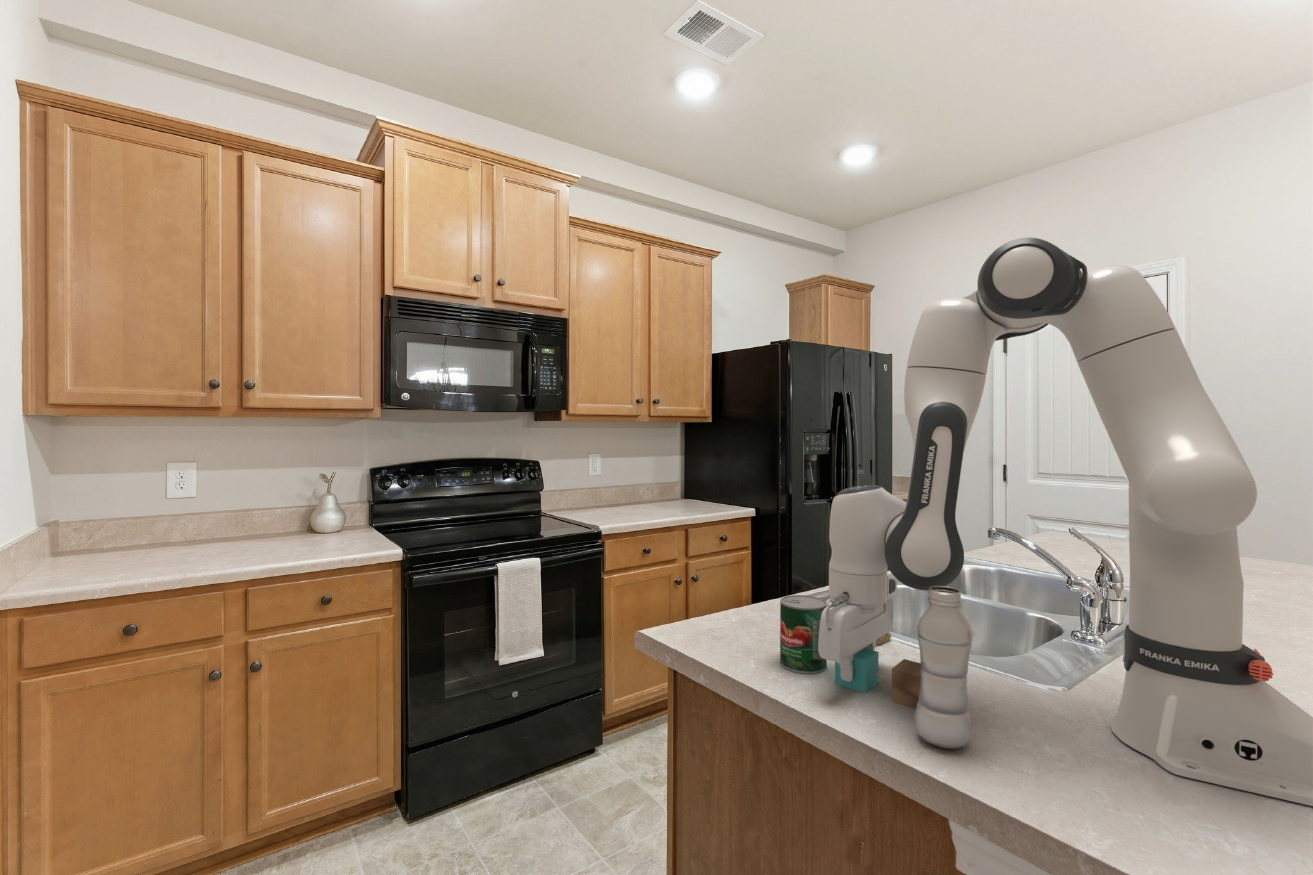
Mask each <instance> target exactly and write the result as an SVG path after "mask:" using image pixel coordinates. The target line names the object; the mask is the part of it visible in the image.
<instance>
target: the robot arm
mask: <svg viewBox="0 0 1313 875" xmlns="http://www.w3.org/2000/svg"><path fill="white" fill-rule="evenodd" d="M1049 325H1050V326H1053V327H1054V328H1056V329H1058V330H1059V331H1060V332H1061V333H1062V334H1063V336H1065V337H1064V338H1065V339H1066V340H1067V341H1068V343H1069V345H1070V347H1071V349H1072V353H1073V355H1074V358H1075V361H1076V362H1077V366H1078V368H1079V370H1080V373H1081V375H1082V377H1083V379H1084V381H1085V384H1086V386H1087V389H1088V391H1089V393H1090V396H1091V399H1092V402H1094V405H1095V408H1096V410H1097V413H1098V415H1099V418H1100V419H1101V422H1102V424H1103V426H1104V428H1105V431H1106V433H1107V434H1108V438H1109V440H1110V442H1111V444H1112V446H1113V449H1114V451H1115V452H1116V455H1117V458H1118V460H1119V461H1120V465H1121V466H1122V469H1123V471H1124V473H1125V476H1126V478H1127V481H1128V538H1129V539H1128V542H1129V544H1128V546H1129V548H1128V549H1129V592H1128V593H1129V596H1128V597H1129V598H1128V599H1129V600H1128V624H1127V625H1126V626H1125V628H1124V633H1123V636H1122V662H1123V667H1124V669H1125V675H1124V682H1123V686H1122V693H1121V696H1120V701H1119V705H1118V707H1117V711H1116V713H1115V715H1114V719H1113V721H1112V722H1111V725H1110V726H1111V730H1112V732H1113V733H1114V735H1115V736H1116V737H1117V738H1118V739H1119V740H1120V741H1122V742H1123V743H1124V744H1125V745H1127V746H1128V747H1131V748H1132V749H1134V750H1136V751H1138V752H1140V753H1141V754H1143V755H1145V756H1147V757H1149V758H1151V759H1152V760H1154V761H1155V762H1156V763H1157V764H1158V765H1159V766H1161V767H1162V768H1163V769H1165V770H1166V771H1168V772H1169V773H1171V774H1174V775H1177V776H1181V777H1185V778H1189V779H1193V780H1197V781H1200V782H1201V781H1202V782H1206V783H1210V784H1211V783H1212V784H1214V785H1219V786H1224V787H1227V788H1232V789H1237V790H1242V791H1246V792H1249V793H1250V792H1251V793H1254V794H1258V795H1263V796H1267V797H1271V798H1275V799H1281V800H1285V801H1289V802H1293V803H1298V804H1301V805H1307V806H1311V807H1313V716H1312V715H1311V714H1309V713H1308V712H1307V711H1305V710H1304V709H1303V708H1301V707H1300V706H1298V704H1296V703H1295V702H1293V701H1292V700H1290V699H1289V698H1288V697H1286V695H1284V694H1282V693H1281V692H1280V691H1279V690H1277V689H1276V688H1274V687H1273V686H1272V685H1271V684H1269V683H1268V681H1270V679H1273V676H1274V673H1273V672H1274V671H1273V669H1272V666H1271V665H1270V664H1269V663H1268V662H1267V661H1266V659H1265V657H1264V656H1263V655H1261V653H1260V652H1259V651H1258V650H1257V649H1256V648H1254V649H1252V648H1251V647H1248V646H1247V645H1245V644H1243V627H1244V626H1243V619H1244V586H1245V585H1244V583H1245V582H1244V578H1243V573H1242V568H1241V567H1242V566H1241V559H1240V558H1241V557H1240V550H1239V549H1240V548H1239V538H1238V528H1237V527H1238V526H1239V525H1241V524H1242V523H1244V522H1245V520H1247V518H1248V517H1249V516H1250V515H1251V514H1252V512H1253V510H1254V508H1255V505H1256V503H1257V499H1258V498H1257V497H1258V490H1257V484H1256V481H1255V478H1254V477H1253V476H1254V475H1252V473H1251V470H1250V469H1249V466H1248V464H1247V463H1246V461H1245V459H1244V457H1243V455H1242V453H1241V451H1240V449H1239V448H1238V446H1237V444H1236V442H1235V440H1234V438H1233V436H1232V435H1231V432H1230V431H1229V429H1228V427H1227V425H1226V424H1225V422H1224V420H1223V418H1222V417H1221V415H1220V413H1219V412H1218V410H1217V408H1216V406H1215V404H1214V403H1213V401H1212V400H1211V398H1210V397H1209V395H1208V393H1207V391H1206V390H1205V387H1204V386H1203V384H1202V382H1201V380H1200V378H1199V376H1198V373H1197V372H1196V370H1195V366H1193V363H1192V361H1191V359H1190V357H1189V354H1188V351H1187V349H1186V347H1185V345H1184V343H1183V341H1182V338H1181V337H1180V335H1179V332H1178V330H1177V328H1176V325H1175V324H1174V321H1173V319H1172V318H1171V315H1170V314H1169V312H1168V311H1167V309H1166V307H1165V305H1164V304H1163V302H1162V300H1161V299H1160V297H1159V296H1158V294H1157V293H1156V291H1155V290H1154V288H1152V286H1151V285H1150V283H1149V282H1148V281H1147V279H1146V278H1145V276H1143V274H1142V273H1141V272H1140V271H1139V270H1137V269H1135V268H1133V267H1131V266H1127V265H1107V266H1102V267H1098V268H1096V269H1093V270H1090V271H1088V266H1087V265H1086V264H1085V263H1084V262H1083V261H1080V260H1079V259H1078V258H1076V257H1074V256H1072V255H1070V254H1069V253H1067V252H1066V251H1065V250H1063V249H1061V248H1060V247H1059V246H1057V245H1056V244H1053V243H1051V242H1049V241H1047V240H1045V239H1042V238H1037V237H1022V238H1016V239H1013V240H1010V241H1008V242H1005V243H1003V244H1002V245H1000V246H999V247H998V248H996V249H994V251H993V252H992V253H991V254H990V255H989V256H988V257H987V258H986V260H985V261H984V263H983V264H982V266H981V268H980V270H979V273H978V277H977V289H976V290H974V291H973V292H972V293H971V294H969V295H966V296H962V297H960V296H950V297H944V298H941V299H938V300H935V301H933V302H931V303H930V304H928V305H927V306H926V307H925V309H924V310H923V311H922V313H921V315H920V317H919V320H918V323H917V326H916V329H915V331H914V334H913V338H912V341H911V344H910V349H909V354H908V358H907V364H906V369H905V370H906V371H905V378H904V388H903V389H904V393H903V394H904V395H903V396H904V397H903V398H904V413H905V417H906V419H907V422H908V425H909V428H910V432H911V436H912V438H911V439H912V443H913V444H912V446H913V451H912V452H913V454H912V455H913V456H912V463H911V470H910V477H909V485H908V489H907V490H908V492H907V497H906V501H905V500H903V499H900V498H899V497H897V496H895V495H893V494H892V493H890V492H889V491H887V490H886V489H885V488H884V487H883V486H881V485H877V484H864V485H857V486H850V487H847V488H844V489H842V490H840V491H839V492H838V493H837V494H836V495H835V496H834V497H833V500H832V503H831V505H830V506H831V508H830V513H829V514H830V515H829V533H828V534H829V536H828V538H829V545H830V548H831V557H830V560H829V562H828V563H829V564H828V596H829V597H830V598H831V599H829V604H827V607H826V608H825V609H824V610H823V612H822V615H821V619H820V628H819V641H818V652H819V654H820V656H821V658H823V659H826V660H827V661H830V662H833V663H835V662H837V663H839V666H840V668H841V679H843V680H845V681H849V682H850V681H852V680H853V679H854V678H855V668H853V665H852V660H853V655H854V654H855V653H857V652H858V651H860V650H862V649H863V648H865V649H869V650H873V651H876V650H875V649H876V647H877V646H876V640H877V639H878V638H880V637H882V636H883V635H885V634H886V633H888V632H890V631H891V629H892V625H893V622H894V611H895V610H894V609H895V596H894V593H895V592H896V591H897V589H898V588H897V587H898V583H897V582H899V583H901V584H903V585H904V586H906V587H908V588H911V589H914V590H918V591H926V592H927V591H928V592H929V587H931V586H946V587H948V586H949V585H950V584H951V583H953V582H954V581H955V580H956V579H957V578H958V576H959V575H960V574H961V572H962V570H963V567H964V563H965V552H964V546H963V542H962V539H961V536H960V534H959V529H958V527H957V520H956V514H957V513H956V512H957V511H956V509H957V504H958V495H959V488H960V482H961V472H962V466H963V459H964V452H965V449H966V445H967V442H968V438H969V436H970V432H971V430H972V427H973V425H974V422H975V419H976V416H977V414H978V411H979V409H980V404H981V401H982V397H983V393H984V390H985V384H986V379H987V373H988V366H989V360H990V355H991V351H992V349H993V345H994V343H995V342H996V341H1003V340H1006V339H1010V338H1011V339H1012V338H1015V337H1022V336H1026V335H1030V334H1034V333H1036V332H1038V331H1041V330H1042V329H1044V328H1046V327H1047V326H1049ZM888 570H889V572H890V573H891V575H892V576H893V577H891V576H889V575H888Z"/></svg>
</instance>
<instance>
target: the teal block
mask: <svg viewBox="0 0 1313 875" xmlns="http://www.w3.org/2000/svg"><path fill="white" fill-rule="evenodd" d="M852 665H853V668H855V678H854V679H853V680H852V681H850V682H849V681H845V680H843V679H841V668H840V666H839V663H837V662H834V685H837V686H838V685H839V686H841V687H844V688H848V689H851V690H854V691H857V692H859V693H860V692H861V693H864V694H866V693H867V692H869V691H870V690H872V689H873V687H875V686H876V685H877V684H879V651H877V650H874V651H873V650H869V649H865V648H863V649H862V650H860V651H858V652H857V653H855V654H854V655H853V660H852Z"/></svg>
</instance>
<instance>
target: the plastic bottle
mask: <svg viewBox="0 0 1313 875" xmlns="http://www.w3.org/2000/svg"><path fill="white" fill-rule="evenodd" d="M961 595H962V593H961V590H960V589H958V588H955V587H951V586H931V587H929V591H928V598H927V602H928V603H929V604H930V606H929V607H928V609H926V610H925V611H924V613H922V616H921V617H920V618H919V620H918V622H917V627H916V629H917V632H916V633H917V641H918V647H919V654H920V655H919V656H920V659H919V660H920V663H921V681H920V690H919V699H918V702H917V706H916V708H915V711H914V723H915V729H916V732H917V733H918V734H919V736H920V738H921V739H922V740H923V741H925V742H926V743H928V744H931V745H933V746H935V747H939V748H943V749H949V750H950V749H951V750H955V749H961V748H963V747H964V746H965V745H966V744H967V743H968V742H970V738H971V733H972V721H971V716H970V710H969V700H968V687H967V686H968V684H967V683H968V675H969V674H968V673H969V672H968V671H969V662H970V657H971V651H972V646H973V640H974V633H973V629H972V625H971V624H970V623H969V620H967V618H966V617H965V615H964V613H963V612H962V611H961V610H960V607H962V605H963V604H962V596H961Z"/></svg>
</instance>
